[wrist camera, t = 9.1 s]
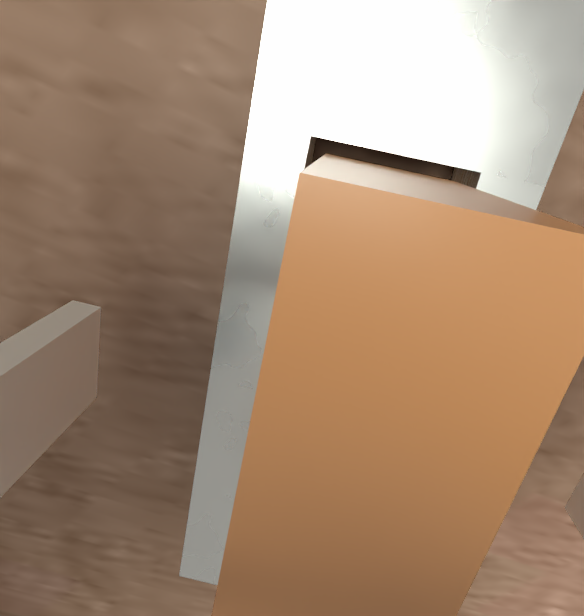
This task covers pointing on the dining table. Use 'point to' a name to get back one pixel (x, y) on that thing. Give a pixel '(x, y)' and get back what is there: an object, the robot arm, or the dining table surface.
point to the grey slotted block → (379, 136)
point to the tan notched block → (398, 392)
